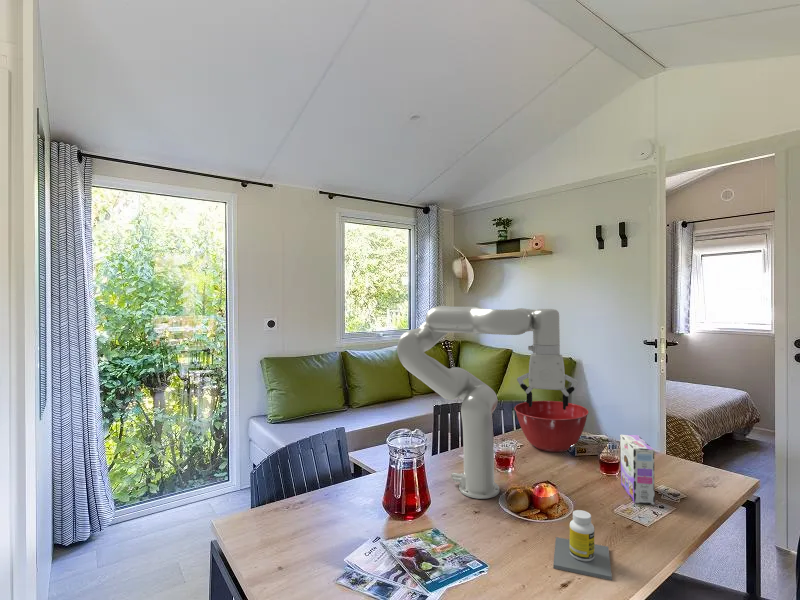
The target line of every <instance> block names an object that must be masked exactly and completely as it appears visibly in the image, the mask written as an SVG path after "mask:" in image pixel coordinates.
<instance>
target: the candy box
mask: <svg viewBox="0 0 800 600" xmlns="http://www.w3.org/2000/svg"><path fill="white" fill-rule="evenodd" d="M619 440H620V441H619V444H620V445H619V446H620V447H619V448H620V449H619V450H620V451H619V452H620V485H621V486H622V488H623V490H625V492H626V494H627V495H628V496H629V498H630V499H631V500H632V502H633V503H634V504H642V505H652V506H654V505H655V503H656V501H655V498H656V497H655V449H654V448H653V447H652V446H651V445H649V444H648V443H647V442H646V441H645V440H644V439H643V438H642V437H641V436H640V435H636V434H620V435H619Z"/></svg>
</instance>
